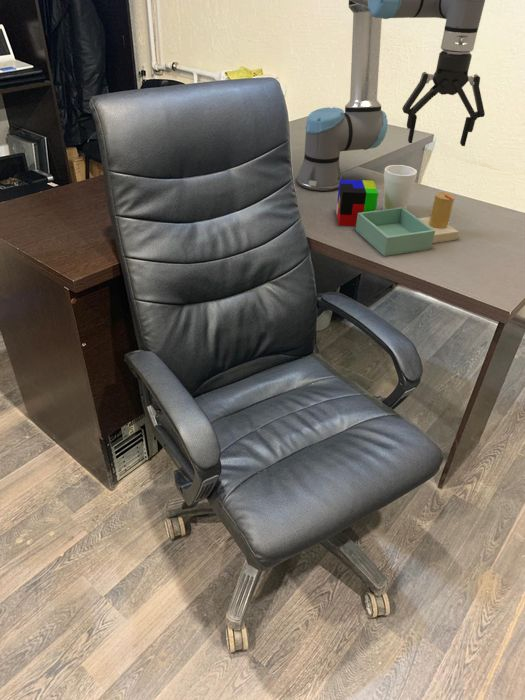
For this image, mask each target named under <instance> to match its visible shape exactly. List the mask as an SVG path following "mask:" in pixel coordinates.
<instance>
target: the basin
mask: <svg viewBox="0 0 525 700" xmlns="http://www.w3.org/2000/svg"><path fill="white" fill-rule="evenodd" d="M354 230H355V231H356V232H357V233H358V234H359V235H360V236H361V237H362V238H363V239H365V240H366V241H367V242H368V243H369V244H370V245H371V246H372V247H373V248H375V250H377V252H379V253H380V254H381V255H382V256H383V257H388V256H392V255H394V256H395V255H399V254H400V255H401V254H407V253H412V252H419V251H425V250H431V249H432V248H433V247H432V246H433V244H434V243H433V238H434V234H435V230H433V229H432V228H431V227H429V226H428V225H427V224H425V223H424V222H422V221H421V220H420V219H418V217H417V216H415V215H414V214H413V213H412V212H410V211H409V210H407V209H406V208H403V207H400V208H392V209H384V210H383V209H376V211H369V212H361V213H358V215H357V222H356V226H355V229H354Z"/></svg>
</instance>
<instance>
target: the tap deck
mask: <svg viewBox="0 0 525 700" xmlns="http://www.w3.org/2000/svg"><path fill="white" fill-rule="evenodd" d="M417 218H418V217H417ZM418 219H420V220H421V221H422V222H424V223H425V224H427V225H428V226H429V227H431V228H432V229H433V230H435V234H434V238H433V243H432V244H436V243H443V242H450V241H455V240H457V238H458V234H459V230H458V229H456V228H454V227H453V226H451V225H450V224H453V222H452V221H449V222H448V226H447V227H446V228H435V227H432V226H430V225H429V220H430V216H426V217H419V218H418Z"/></svg>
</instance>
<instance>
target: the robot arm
mask: <svg viewBox="0 0 525 700" xmlns="http://www.w3.org/2000/svg"><path fill="white" fill-rule="evenodd" d="M485 2H486V0H348V8H349V10H350V11H351V13H352V41H351V63H350V64H351V65H350V91H349V93H350V94H349V101H348V102H347V104H345V105H344V109H342V108H340V107H331V106H329V107H321V108H318V109H315V110H313V111H311V112H310V113H308V116H307V117H306V126H305V138H304V139H305V141H304V157H303V161H302V164H301V167H300V169H299V172H298V174H297V180H296V181H297V184H298V185H299V186H300V187H301V188H303V189H306V190H310V191H314V192H315V191H316V192H329V191H335V190H339V182H340V180H343V176H342V170H341V166H340V153H341V152H348V151H359V150H361V151H362V150H363V151H367V150H369V149H375V148H378V147H379V146H380V145H381V144H382V142H383V141H384V140H385V137H386V135H387V132H388V121H389V120H388V118H387V117H388V116H387V113H386V112H385V111H384V110H382V104H381V103H380V102H379V100H378V90H379V89H378V88H379V72H380V69H379V68H380V56H381V55H380V54H381V40H382V39H381V37H382V24H383V23H382V21H383V20H389V19H405V18H407V19H408V18H409V19H416V18H417V19H424V18H426V19H428V18H429V19H432V18H433V19H434V18H435V19H443V20H445V24H444V25H445V26H444V30H443V34H442V39H441V44H440V49H441V51H440V52H439V53H438V58H437V64H436V68H435V72H434V73H433V74H432V73H428V72H427V71H423V72H422V73H421V75H420V80H419V82H418V84H417V85H416V86H415V88H414V89H413V90H412V93H411V94H410V95H409V97H408V98H407V100H406V101H405V103H404V104H403V106H402V108H401V109H402V110H401V111H403V113H404V114H406V115H407V120H406V128H407V129H408V130H409V132H408V138H407V141H408V144H412V143H413V140H414V134H415V130H416V123H417V119H418V116H417V113H418V112H419V111H420V110H422V108H423V107H424V106H425V105H426V104H427V103H429V101H431V100H432V99H433V98H434V97H435V96H437V95H438V94H440V95H443V96H444V95H445V96H446V95H450V96H454V95H458V97H459V98H460V100H461V102H462V103H463V106H464V107H465V109H466V111H467V113H468V114H469V116H466V118H465V122H464V124H463V129H462V133H461V137H460V141H459V144H460V145H461V147H465V146H466V144H467V139H468V136H469V133H472V132H473V131H474V127H475V124H476V121H477V120H478V119H479V118H483V117H485V115H486V114H485V113H486V112H485V109H484V108H485V107H484V103H483V99H482V94H481V88H480V83H481V76H480V75H479V74H477V73H476V74H475V73H474V75H469V70H470V69H469V68H470V64H471V60H472V56H473V54H472V53H471V52H473V51H474V49H475V44H476V39H477V35H478V30H479V27H480V24H481V23H480V22H481V20H482V14H483V11H484V8H485V7H484V6H485ZM430 81H432V82H433V85H432V86H431V87H430V88H429V90H428V91H427V92H426V93H425V94H424V95H423V96H422V97H421V98H420V99H419V100H418V101H417V102H416V100H417V99H418V97H419V96H420V95H421V93H422V92H423V90H424V88H425V87H426V85H427V84H429V83H430ZM468 82H469V85H470V86H471V88H472V92H473V97H474V102H475V106H476V107H475V108H476V111H475V110H474V108H473V106H472V104H471V102H470V100H469V99H468V96H467V95H466V93H465V91H464V86H466V84H467V83H468ZM415 102H416V103H415Z"/></svg>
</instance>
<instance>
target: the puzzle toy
mask: <svg viewBox="0 0 525 700" xmlns="http://www.w3.org/2000/svg"><path fill="white" fill-rule="evenodd" d="M378 197H379V191H378V188H377V186H376V183H375V181H374V180H367V179H365V180H364V179H342V180H340V182H339V188H338V191H337V201H336V209H335V213H336V219H337V224H338V226H344V227H345V226H347V227H356V222H357V215H358V213H361V212H369V211H376V210H377V204H378Z"/></svg>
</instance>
